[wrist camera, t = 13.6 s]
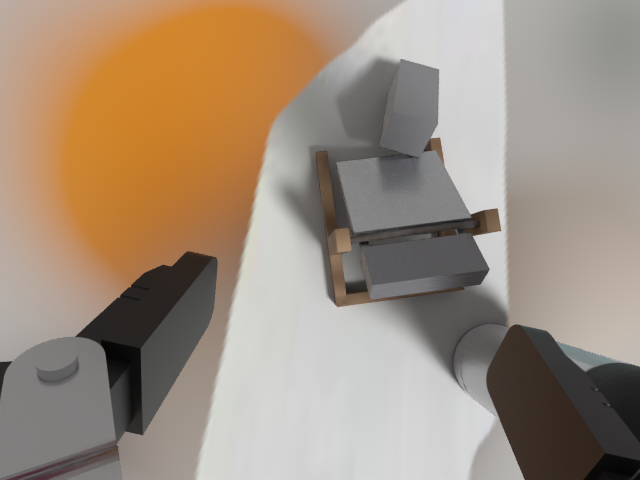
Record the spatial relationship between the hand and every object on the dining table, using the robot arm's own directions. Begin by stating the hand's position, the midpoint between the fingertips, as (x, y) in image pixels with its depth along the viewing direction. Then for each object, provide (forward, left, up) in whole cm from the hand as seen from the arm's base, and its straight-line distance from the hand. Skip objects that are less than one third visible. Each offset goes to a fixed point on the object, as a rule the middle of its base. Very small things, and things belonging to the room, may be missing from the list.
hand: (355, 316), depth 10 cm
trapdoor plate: (-9, -4, -26) cm, 28 cm away
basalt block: (-11, -13, -26) cm, 31 cm away
